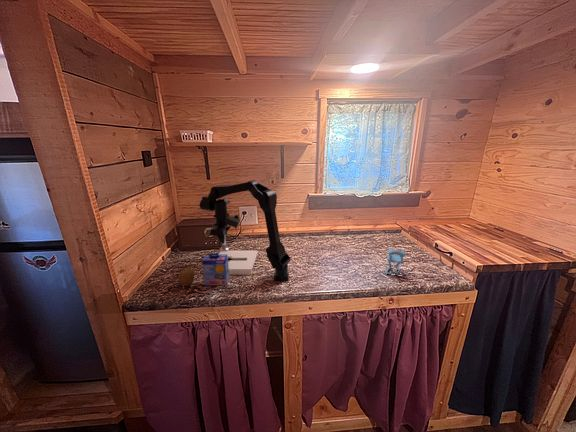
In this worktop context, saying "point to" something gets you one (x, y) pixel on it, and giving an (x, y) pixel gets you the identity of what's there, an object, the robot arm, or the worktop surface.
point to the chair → (395, 259)
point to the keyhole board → (241, 261)
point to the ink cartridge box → (215, 269)
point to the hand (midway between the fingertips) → (223, 242)
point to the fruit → (186, 277)
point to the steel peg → (224, 247)
